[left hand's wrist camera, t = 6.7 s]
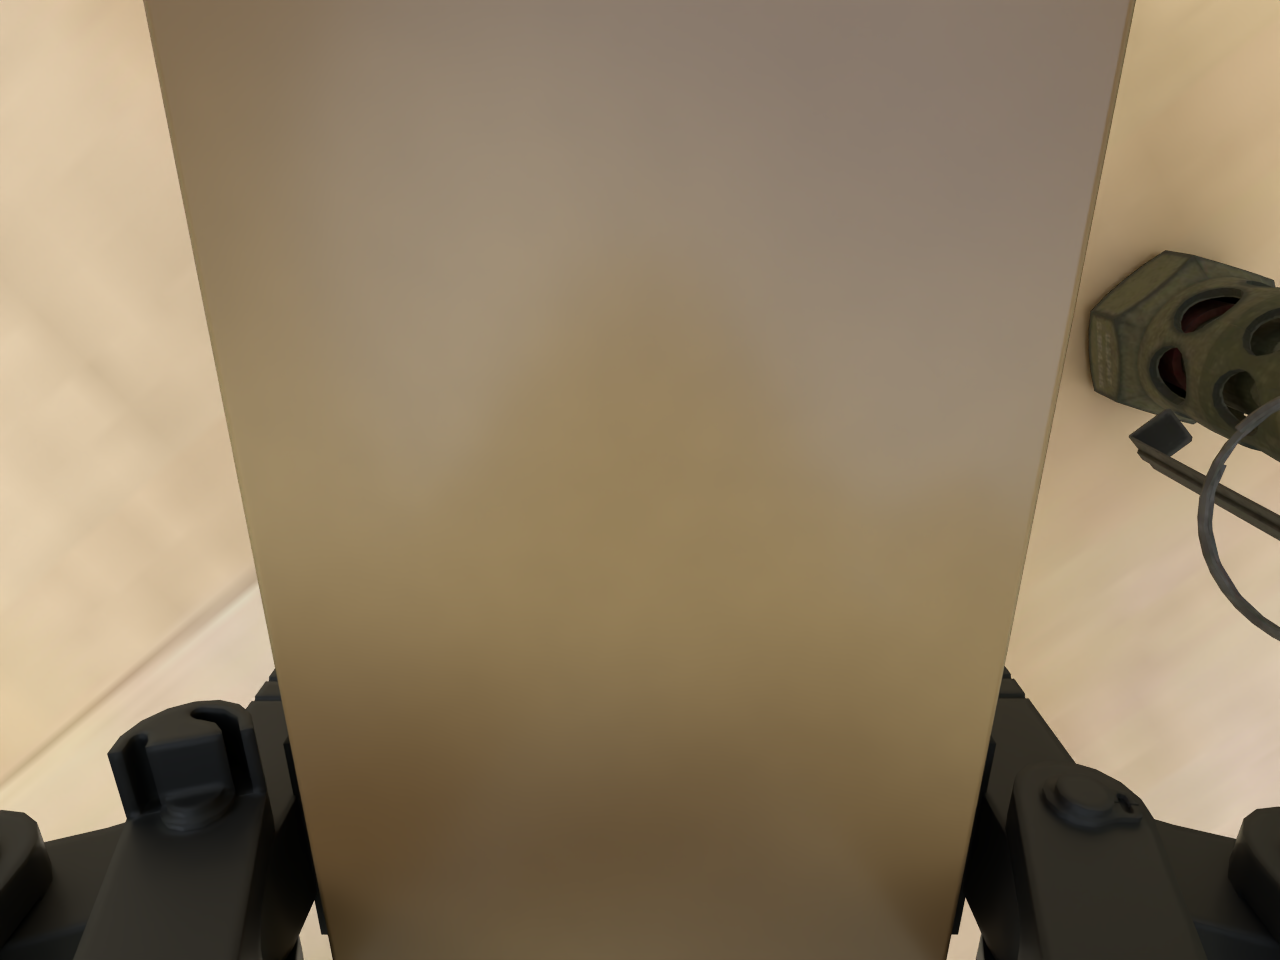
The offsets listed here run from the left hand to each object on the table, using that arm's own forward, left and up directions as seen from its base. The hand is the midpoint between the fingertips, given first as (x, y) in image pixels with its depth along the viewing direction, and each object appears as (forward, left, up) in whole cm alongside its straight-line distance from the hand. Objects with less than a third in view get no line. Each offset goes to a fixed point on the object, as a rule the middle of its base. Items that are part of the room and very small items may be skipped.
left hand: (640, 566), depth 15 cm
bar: (+12, 0, 0) cm, 12 cm away
